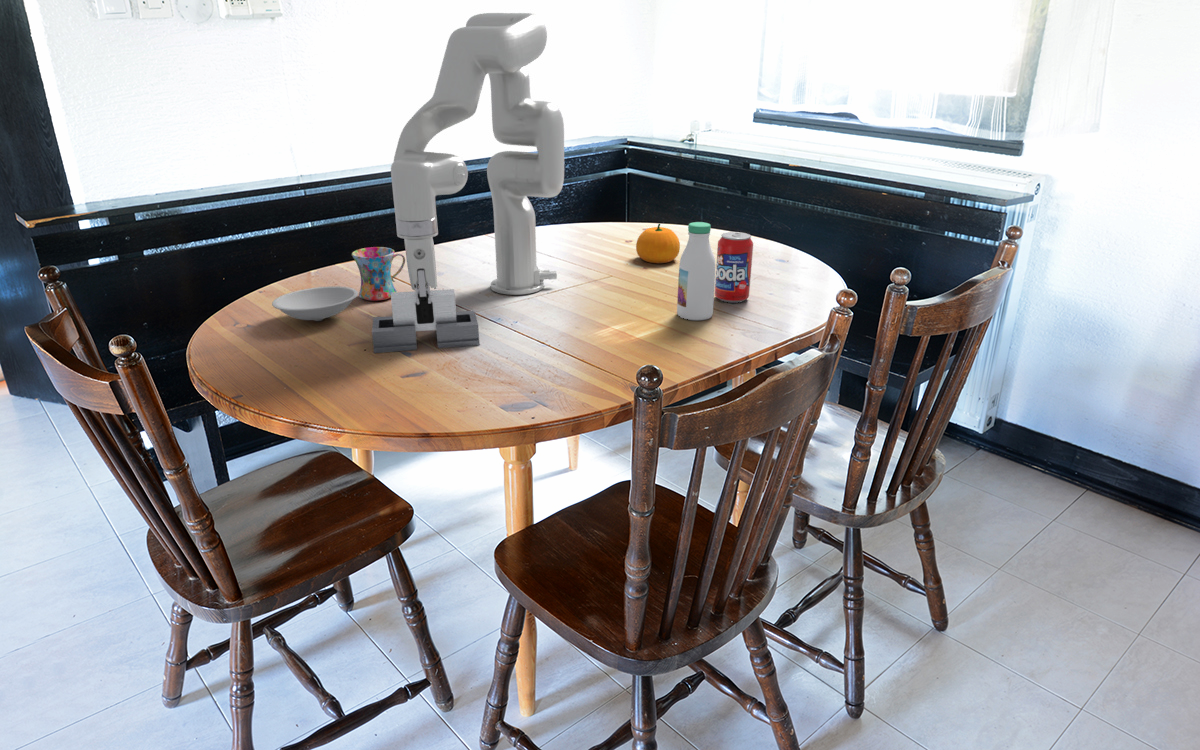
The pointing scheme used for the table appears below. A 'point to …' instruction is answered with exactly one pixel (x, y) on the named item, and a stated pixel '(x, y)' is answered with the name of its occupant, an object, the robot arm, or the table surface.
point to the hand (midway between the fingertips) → (425, 318)
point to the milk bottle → (696, 275)
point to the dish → (315, 302)
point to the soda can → (733, 267)
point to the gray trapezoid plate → (407, 309)
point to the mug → (376, 272)
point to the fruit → (658, 245)
